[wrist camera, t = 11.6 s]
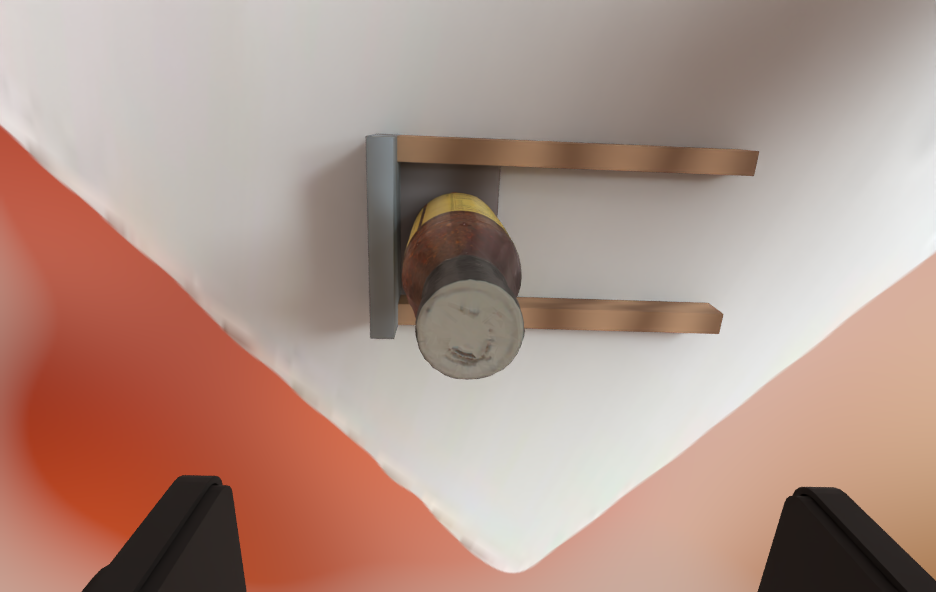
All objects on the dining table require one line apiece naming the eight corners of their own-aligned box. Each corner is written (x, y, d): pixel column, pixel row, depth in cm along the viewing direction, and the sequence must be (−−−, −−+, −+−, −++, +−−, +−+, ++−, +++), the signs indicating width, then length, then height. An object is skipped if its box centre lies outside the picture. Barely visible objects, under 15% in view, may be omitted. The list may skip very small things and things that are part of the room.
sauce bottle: (453, 289, 39) (452, 448, 20) (395, 228, 37) (335, 340, 18) (519, 232, 37) (584, 346, 19) (462, 167, 36) (472, 219, 17)
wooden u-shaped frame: (740, 149, 36) (783, 154, 31) (704, 321, 40) (737, 348, 36) (377, 133, 35) (365, 136, 30) (380, 312, 39) (370, 338, 35)
